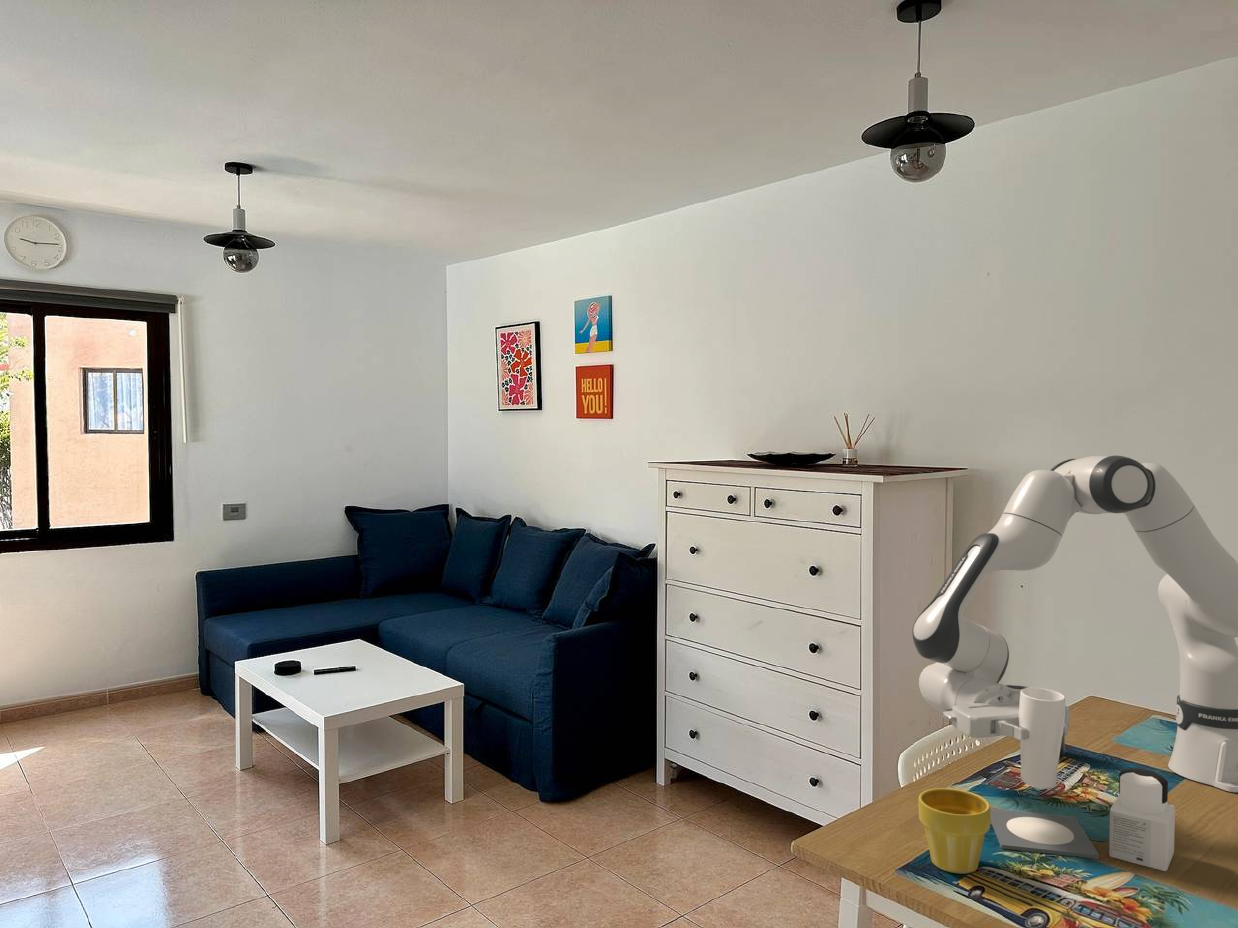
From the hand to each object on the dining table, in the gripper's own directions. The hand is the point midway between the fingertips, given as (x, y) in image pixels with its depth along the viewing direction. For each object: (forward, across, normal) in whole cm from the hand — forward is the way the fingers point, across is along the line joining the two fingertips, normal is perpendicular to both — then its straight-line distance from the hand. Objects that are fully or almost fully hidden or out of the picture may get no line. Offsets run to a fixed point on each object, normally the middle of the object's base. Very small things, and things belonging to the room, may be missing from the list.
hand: (1044, 732), depth 142 cm
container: (+10, +10, +17) cm, 22 cm away
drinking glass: (-1, 0, +9) cm, 9 cm away
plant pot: (+4, -20, +17) cm, 27 cm away
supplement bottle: (-30, +28, +17) cm, 45 cm away
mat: (-1, 0, +17) cm, 17 cm away
